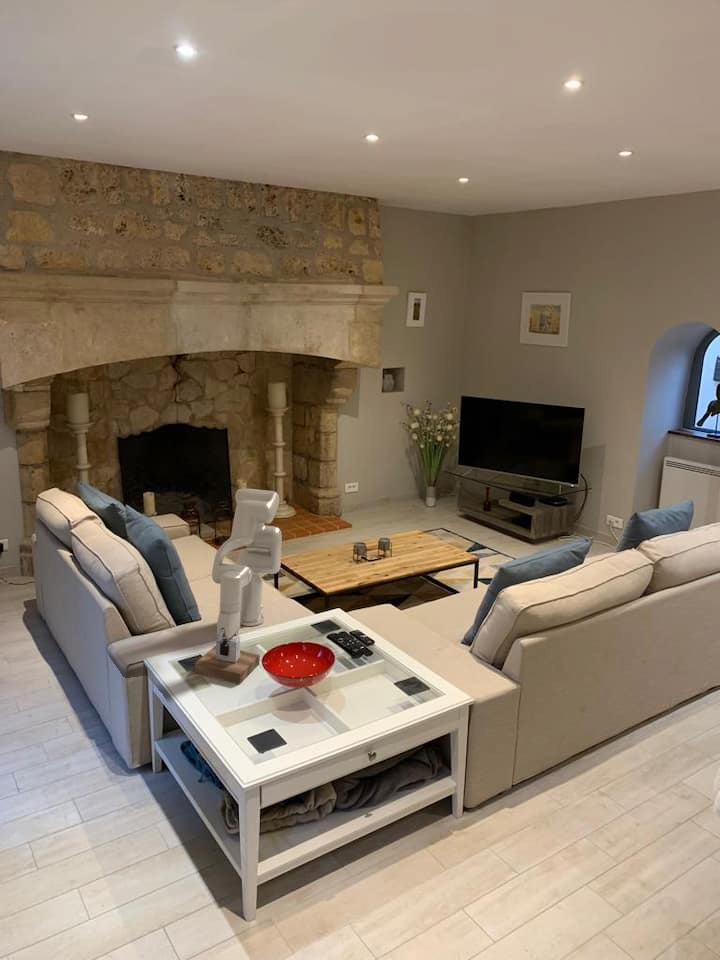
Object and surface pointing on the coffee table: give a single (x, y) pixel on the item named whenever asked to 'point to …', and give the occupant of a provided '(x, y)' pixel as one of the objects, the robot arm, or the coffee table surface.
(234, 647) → the medicine box
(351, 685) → the coffee table surface
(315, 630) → the coffee table surface
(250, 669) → the wooden block
